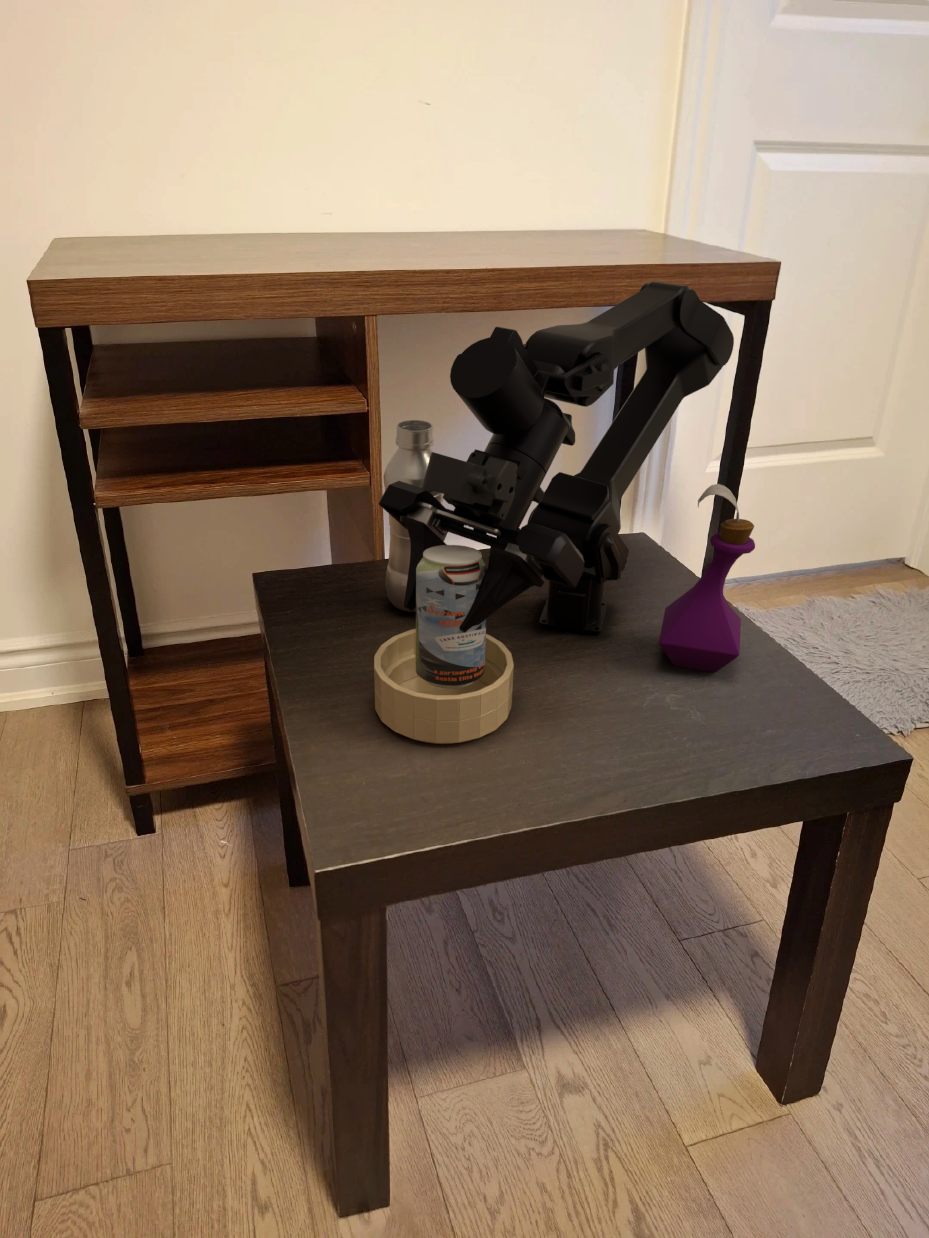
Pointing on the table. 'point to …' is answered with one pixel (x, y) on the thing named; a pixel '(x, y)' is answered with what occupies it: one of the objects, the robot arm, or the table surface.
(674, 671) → the table surface
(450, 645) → the beverage can
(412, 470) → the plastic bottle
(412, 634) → the bowl
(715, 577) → the purple corked potion flask
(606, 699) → the table surface
